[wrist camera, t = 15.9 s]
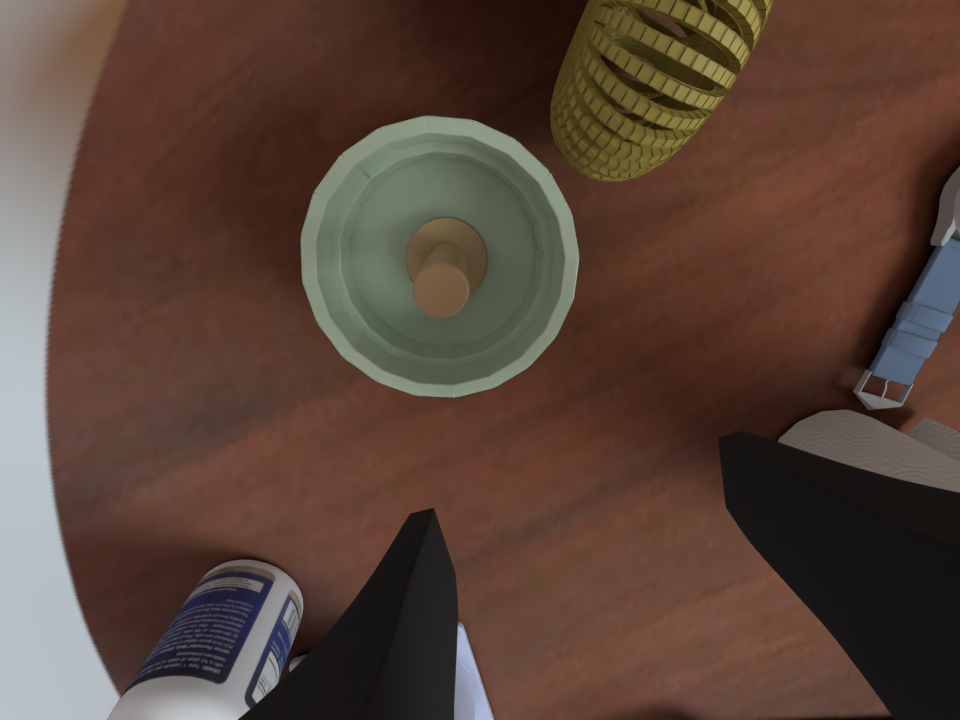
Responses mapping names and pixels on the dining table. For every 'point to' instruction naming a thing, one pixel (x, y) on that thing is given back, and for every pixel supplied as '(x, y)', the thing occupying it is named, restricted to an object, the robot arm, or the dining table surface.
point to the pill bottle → (219, 647)
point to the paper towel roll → (882, 446)
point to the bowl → (383, 242)
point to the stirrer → (445, 265)
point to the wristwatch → (921, 307)
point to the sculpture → (647, 80)
